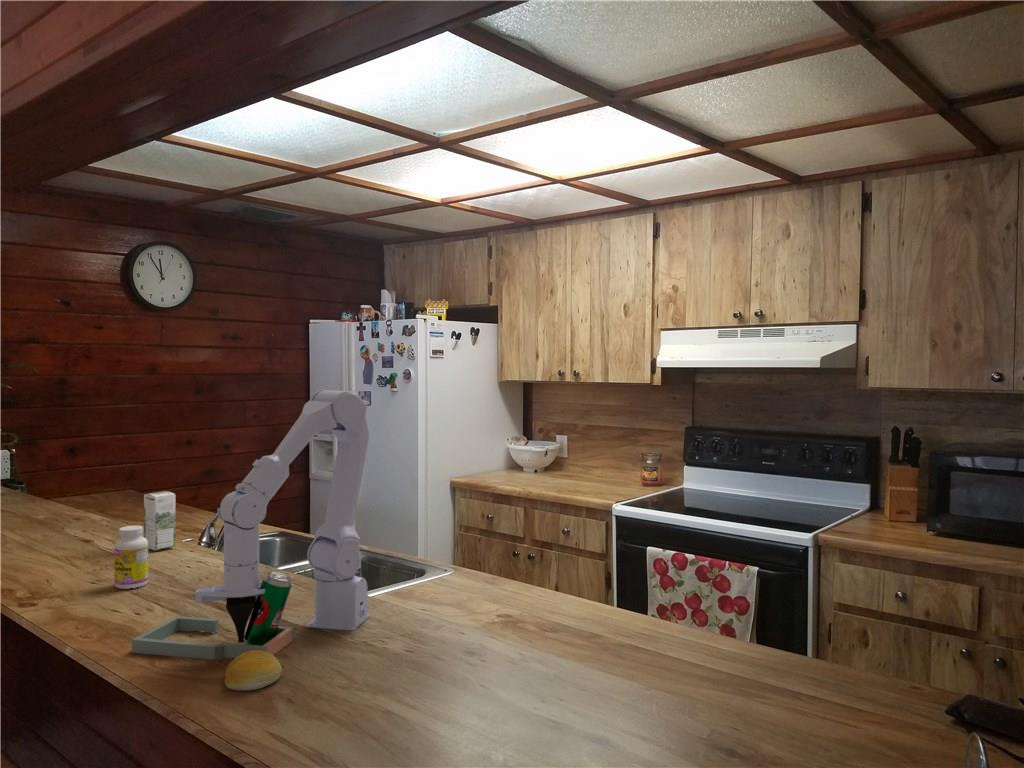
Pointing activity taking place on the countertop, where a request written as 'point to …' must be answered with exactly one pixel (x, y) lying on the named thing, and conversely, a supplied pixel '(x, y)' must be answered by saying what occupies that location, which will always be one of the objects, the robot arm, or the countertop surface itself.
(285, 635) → the corral
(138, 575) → the supplement bottle
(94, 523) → the countertop surface
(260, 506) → the robot arm
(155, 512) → the syrup box
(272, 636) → the soda can
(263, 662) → the bread roll
